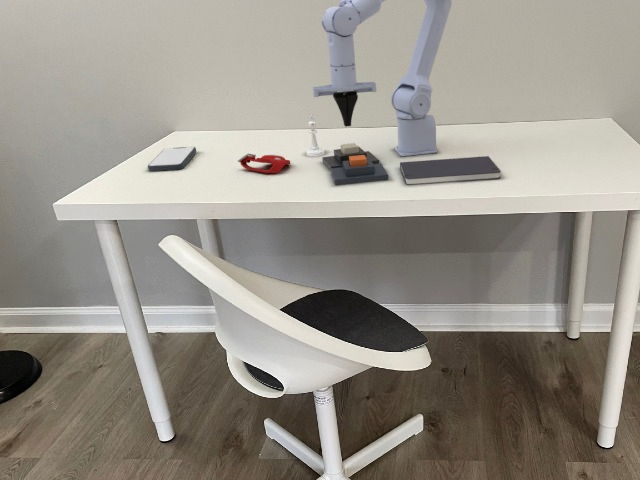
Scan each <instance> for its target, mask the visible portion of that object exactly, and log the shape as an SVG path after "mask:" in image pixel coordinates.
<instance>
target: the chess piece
mask: <svg viewBox="0 0 640 480" xmlns="http://www.w3.org/2000/svg"><path fill="white" fill-rule="evenodd" d="M307 119H308V120H310V121H308V123H307V124H308V126H309V128H310V130H309V131H308V133H309V134H311V146H310V148H309V149H307V150H306V151H305V155H306V156H309V157H318V156H323V155H324V154H326V151H325V149H324V148H321V147H320V146H319V144H318V140H317V135H316V134H317V133H318V130H316V126H317V122H316V121H315V120H316V116H313V113H311V114H310V115H309V116H307Z"/></svg>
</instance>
